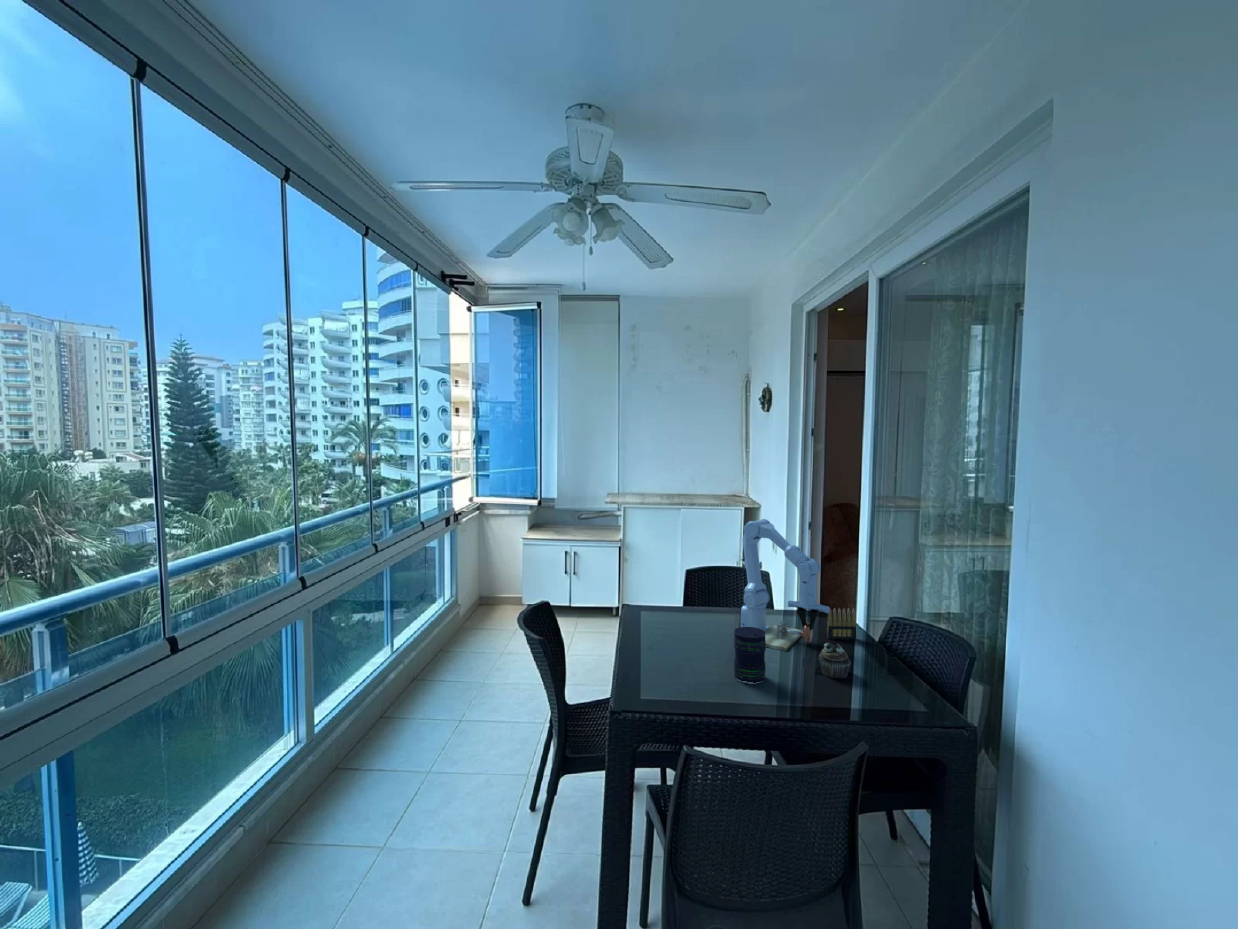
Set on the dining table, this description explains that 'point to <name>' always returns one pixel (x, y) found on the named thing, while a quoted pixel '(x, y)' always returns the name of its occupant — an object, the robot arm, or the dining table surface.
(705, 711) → the dining table surface
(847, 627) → the ammunition clip
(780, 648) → the eye bracket
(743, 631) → the storage jar
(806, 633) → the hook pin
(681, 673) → the dining table surface
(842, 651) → the cupcake
